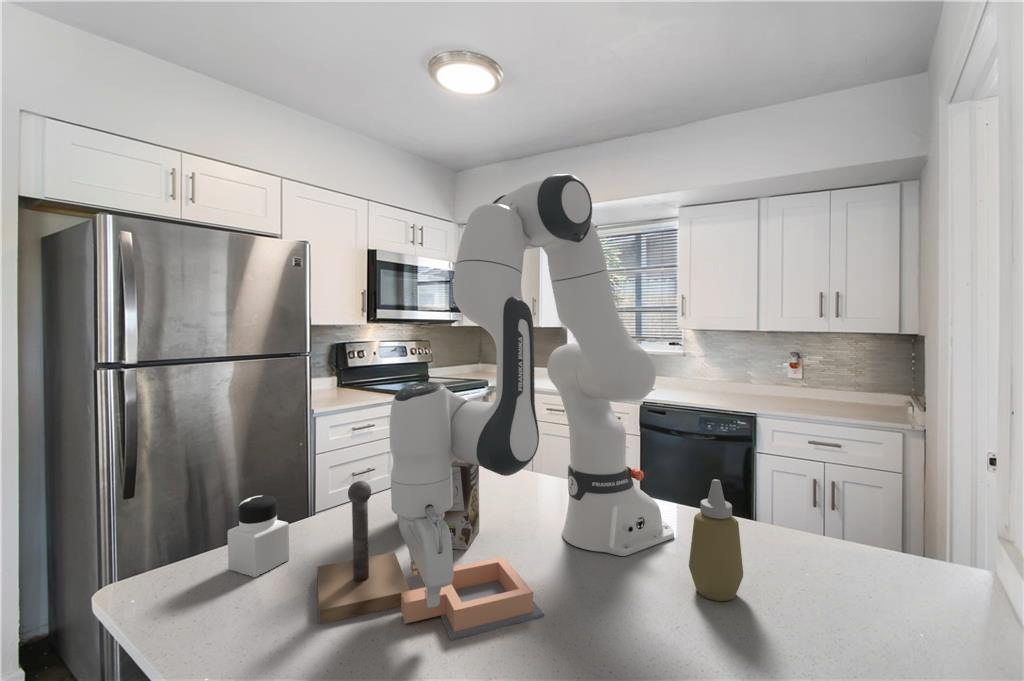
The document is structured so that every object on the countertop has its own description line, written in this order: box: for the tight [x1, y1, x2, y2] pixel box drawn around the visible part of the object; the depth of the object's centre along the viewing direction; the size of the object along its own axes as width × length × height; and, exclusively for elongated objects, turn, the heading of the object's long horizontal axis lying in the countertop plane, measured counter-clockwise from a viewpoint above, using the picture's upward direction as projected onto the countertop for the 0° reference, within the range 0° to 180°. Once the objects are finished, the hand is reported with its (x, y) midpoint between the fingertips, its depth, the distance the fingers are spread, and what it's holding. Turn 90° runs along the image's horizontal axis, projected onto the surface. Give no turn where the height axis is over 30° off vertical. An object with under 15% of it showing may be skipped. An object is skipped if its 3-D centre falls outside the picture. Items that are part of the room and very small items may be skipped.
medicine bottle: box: [227, 495, 290, 578], centre depth 88 cm, size 7×7×12 cm
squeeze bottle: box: [688, 479, 744, 602], centre depth 78 cm, size 8×8×18 cm
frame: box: [400, 556, 534, 631], centre depth 75 cm, size 18×12×3 cm, turn 112°
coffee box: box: [443, 460, 480, 551], centre depth 98 cm, size 9×6×16 cm
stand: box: [316, 480, 411, 625], centre depth 80 cm, size 13×14×18 cm
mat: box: [440, 580, 545, 641], centre depth 76 cm, size 14×14×1 cm
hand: (424, 587), depth 73 cm, fingers open, 8 cm apart
